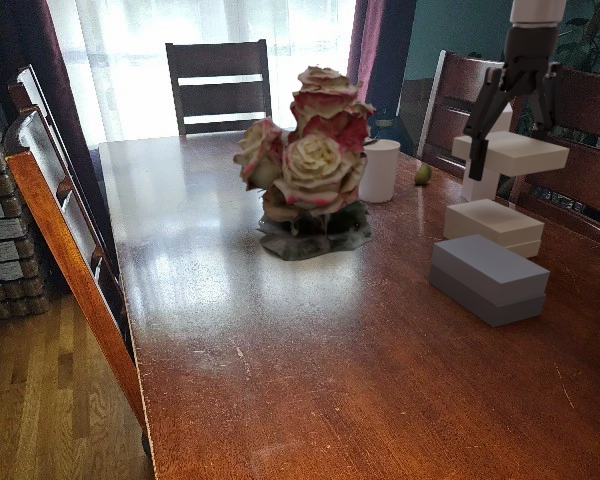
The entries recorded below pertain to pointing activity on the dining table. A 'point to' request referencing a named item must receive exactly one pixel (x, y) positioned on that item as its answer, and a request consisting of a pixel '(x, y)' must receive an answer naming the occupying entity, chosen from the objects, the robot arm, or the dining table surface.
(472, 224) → the cream stack
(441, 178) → the dining table surface
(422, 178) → the lime
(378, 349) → the dining table surface
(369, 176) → the white cup
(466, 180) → the milk
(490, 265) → the grey stack
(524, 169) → the cream book
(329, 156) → the rose bouquet
